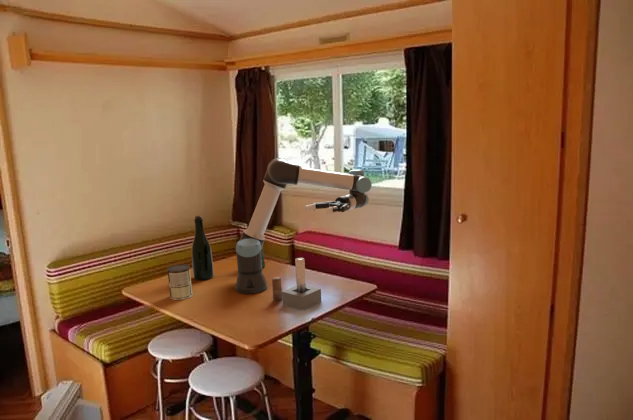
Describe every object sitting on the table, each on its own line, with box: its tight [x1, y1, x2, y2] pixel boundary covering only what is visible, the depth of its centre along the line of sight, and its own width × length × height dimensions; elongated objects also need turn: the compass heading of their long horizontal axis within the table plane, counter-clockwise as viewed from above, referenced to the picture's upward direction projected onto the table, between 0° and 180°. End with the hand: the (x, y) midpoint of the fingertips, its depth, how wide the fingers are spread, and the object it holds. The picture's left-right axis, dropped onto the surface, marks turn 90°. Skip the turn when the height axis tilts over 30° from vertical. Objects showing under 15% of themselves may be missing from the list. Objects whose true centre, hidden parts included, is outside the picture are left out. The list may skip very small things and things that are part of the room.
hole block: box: [282, 284, 322, 311], centre depth 217 cm, size 12×12×6 cm
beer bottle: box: [191, 215, 215, 281], centre depth 259 cm, size 10×10×33 cm
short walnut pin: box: [271, 276, 283, 303], centre depth 223 cm, size 4×4×10 cm
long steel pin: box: [294, 257, 307, 293], centre depth 216 cm, size 4×4×20 cm
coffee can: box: [166, 263, 194, 301], centre depth 233 cm, size 10×10×14 cm
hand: (316, 210), depth 232 cm, fingers open, 13 cm apart
